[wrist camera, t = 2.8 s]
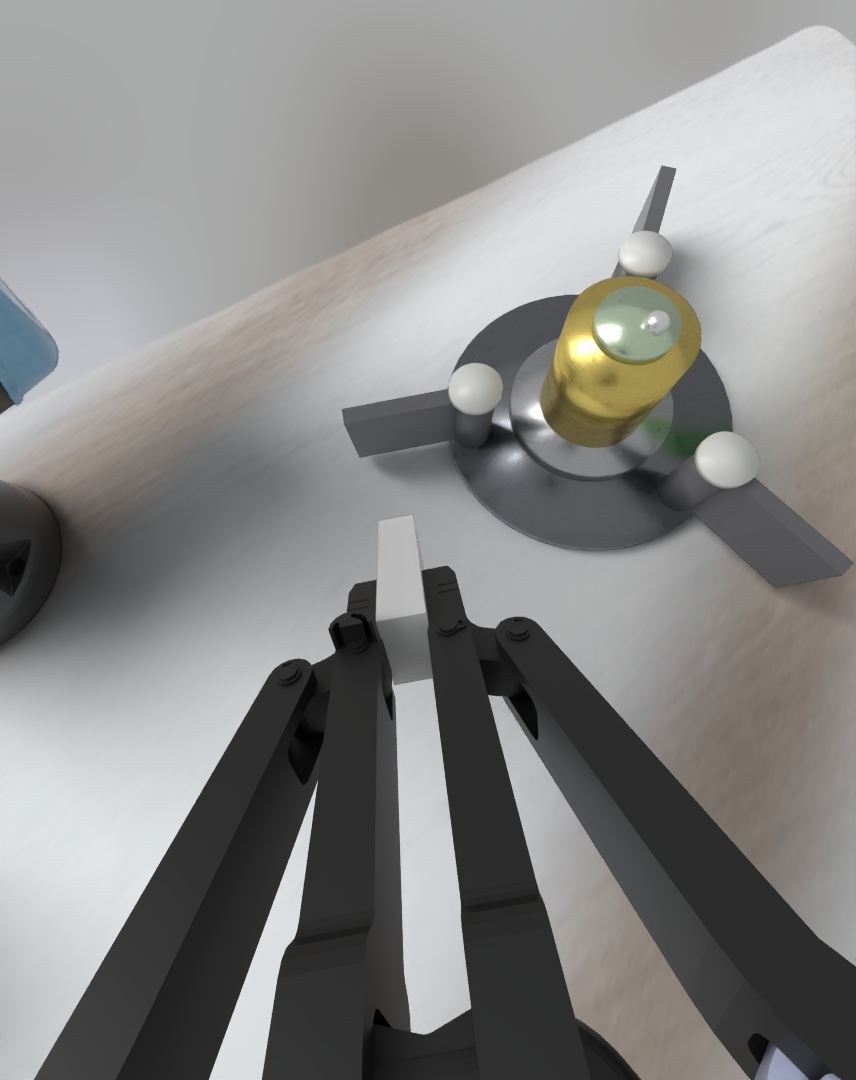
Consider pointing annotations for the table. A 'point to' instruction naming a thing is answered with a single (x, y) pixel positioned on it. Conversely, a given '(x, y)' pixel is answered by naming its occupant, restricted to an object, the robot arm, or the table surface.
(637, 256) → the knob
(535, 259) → the table surface
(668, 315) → the tribrach
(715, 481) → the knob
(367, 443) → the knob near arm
